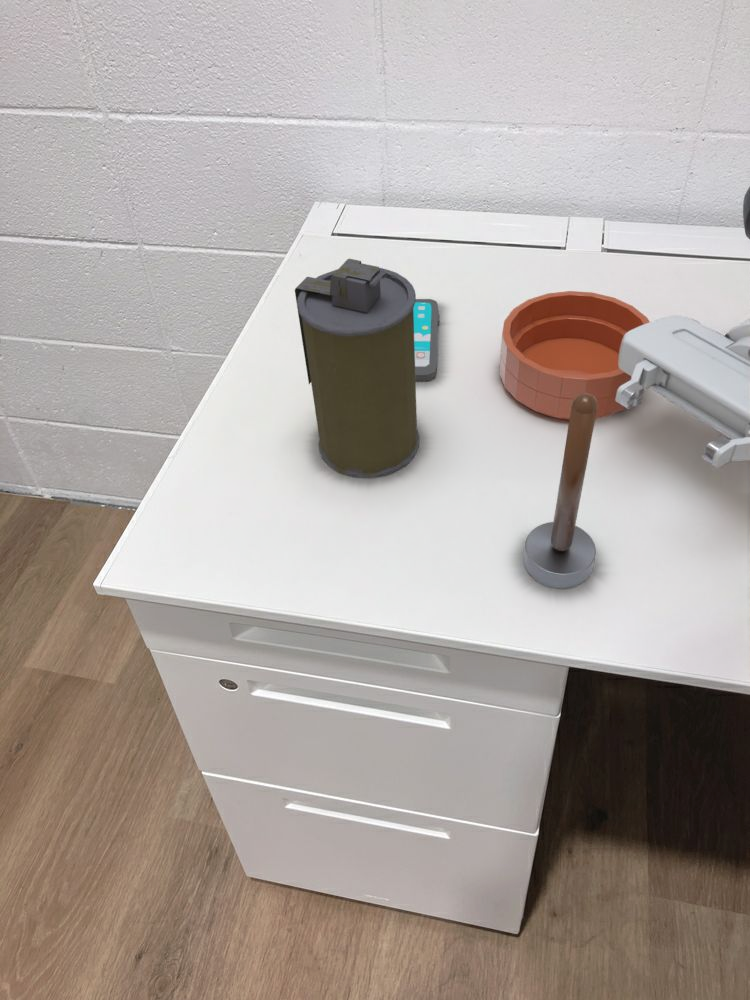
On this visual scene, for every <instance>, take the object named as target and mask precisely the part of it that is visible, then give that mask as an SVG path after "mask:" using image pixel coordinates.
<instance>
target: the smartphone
mask: <svg viewBox="0 0 750 1000" xmlns="http://www.w3.org/2000/svg"><path fill="white" fill-rule="evenodd" d="M413 313H414V347H415V381H416V382H418V381H420V382H421V381H423V382H427V381H430V380H433V379H434V378H436V376H437V371H438V337H439V336H438V331H439V329H438V328H439V324H440V321H441V320H440V315H439V304H438V302H437V301H436V300H434V299H431V298H416V301H415V305H414V308H413Z"/></svg>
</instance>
